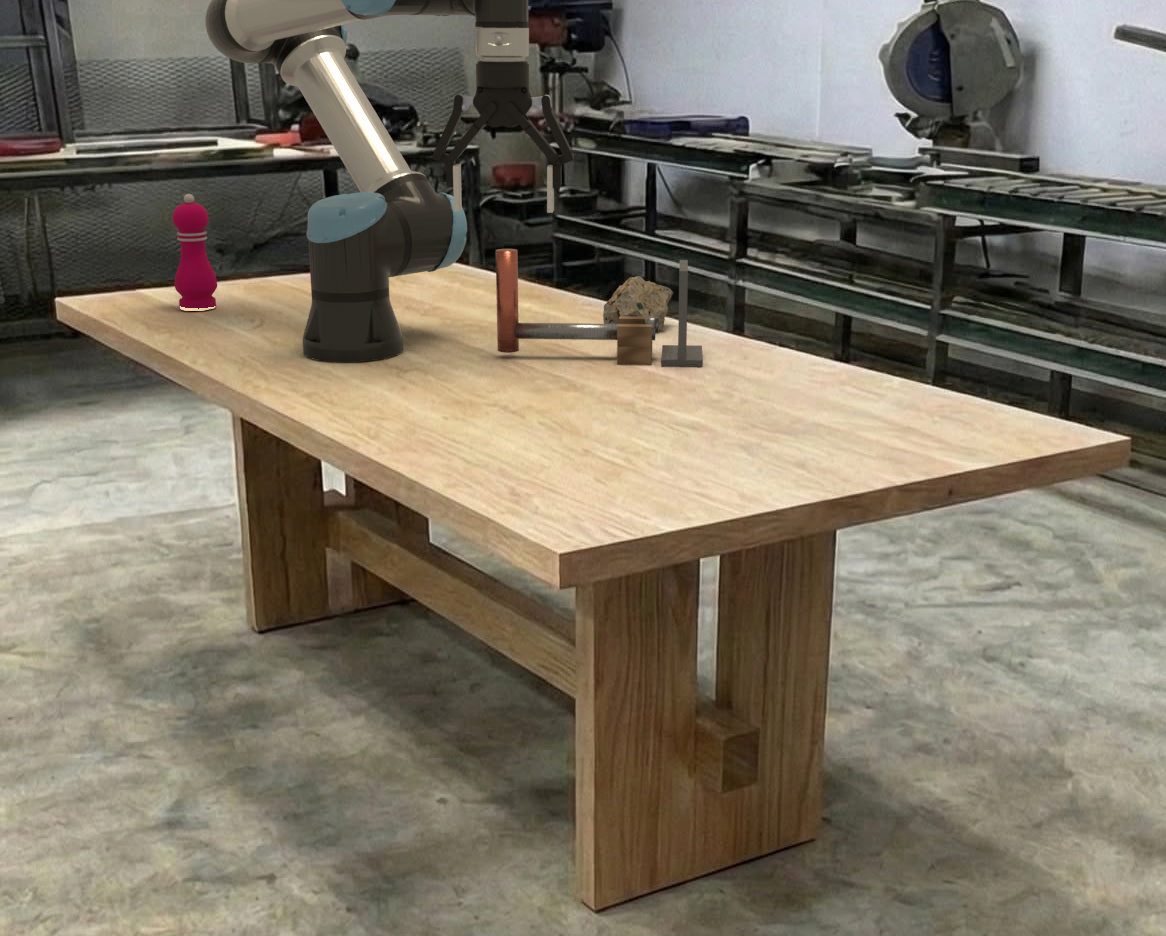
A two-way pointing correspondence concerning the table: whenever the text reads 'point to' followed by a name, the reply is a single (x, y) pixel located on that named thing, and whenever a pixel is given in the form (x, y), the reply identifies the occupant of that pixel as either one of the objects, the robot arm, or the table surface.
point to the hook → (513, 330)
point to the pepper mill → (193, 257)
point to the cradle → (634, 341)
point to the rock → (638, 301)
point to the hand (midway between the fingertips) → (504, 211)
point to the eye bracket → (682, 332)
